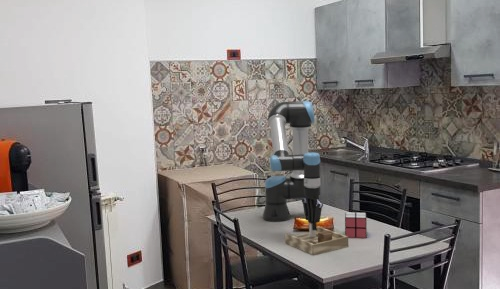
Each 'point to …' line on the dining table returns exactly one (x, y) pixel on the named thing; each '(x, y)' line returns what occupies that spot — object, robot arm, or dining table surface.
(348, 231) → the puzzle cube
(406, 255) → the dining table surface
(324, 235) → the block
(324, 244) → the wooden sorting tray
